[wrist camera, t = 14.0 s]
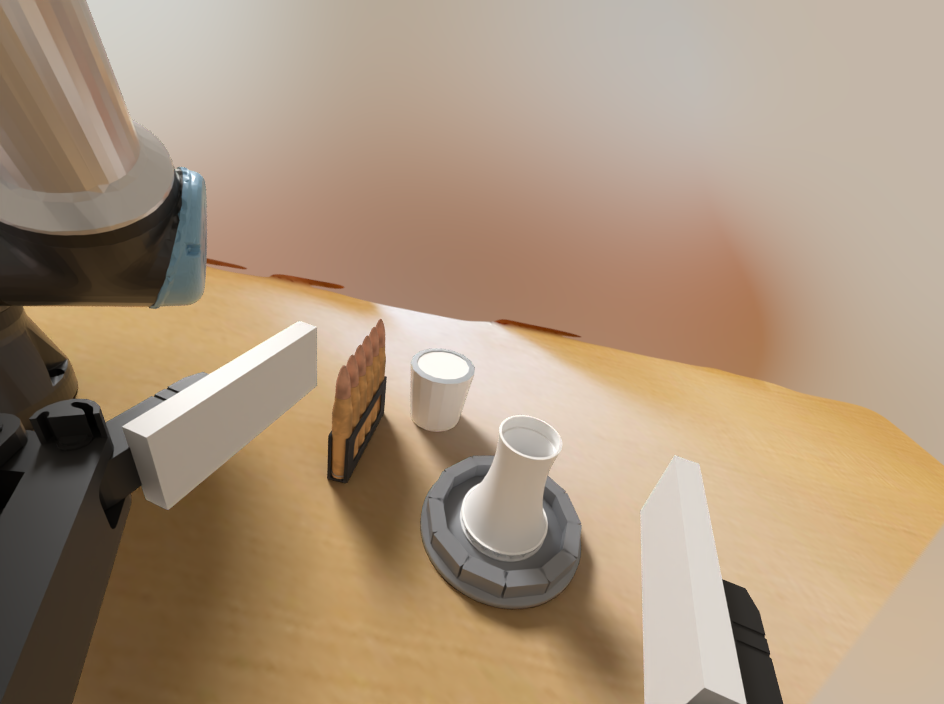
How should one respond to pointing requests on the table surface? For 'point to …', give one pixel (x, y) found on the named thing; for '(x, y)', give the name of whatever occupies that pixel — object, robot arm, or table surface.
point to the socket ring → (486, 575)
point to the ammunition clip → (357, 405)
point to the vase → (512, 492)
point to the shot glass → (439, 388)
